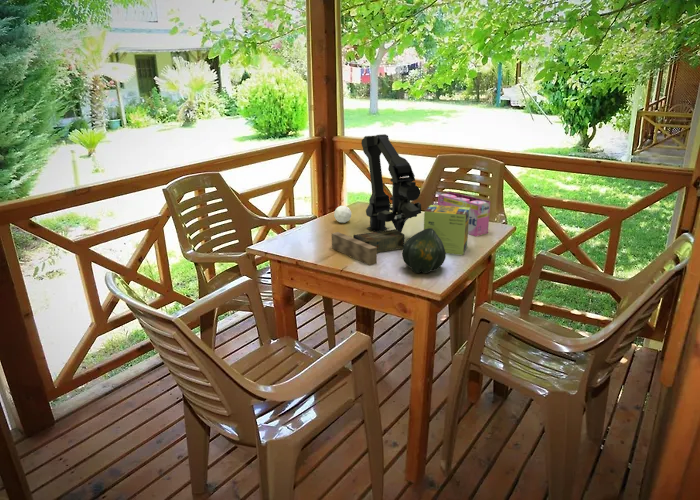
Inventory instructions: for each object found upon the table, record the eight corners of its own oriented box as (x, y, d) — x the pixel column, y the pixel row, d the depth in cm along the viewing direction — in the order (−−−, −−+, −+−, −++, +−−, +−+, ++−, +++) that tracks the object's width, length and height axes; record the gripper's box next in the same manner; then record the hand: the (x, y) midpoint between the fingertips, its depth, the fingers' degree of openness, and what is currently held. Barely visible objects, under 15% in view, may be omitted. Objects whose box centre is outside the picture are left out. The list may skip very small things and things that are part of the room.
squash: (391, 259, 164) (423, 228, 159) (397, 246, 178) (427, 217, 172) (422, 288, 165) (455, 258, 159) (426, 273, 179) (456, 245, 173)
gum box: (433, 223, 220) (435, 193, 216) (446, 220, 225) (447, 190, 220) (476, 236, 202) (478, 204, 197) (488, 233, 206) (491, 201, 202)
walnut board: (331, 248, 192) (331, 233, 189) (338, 246, 193) (337, 231, 191) (370, 265, 174) (370, 249, 172) (376, 263, 176) (376, 247, 174)
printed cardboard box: (405, 248, 190) (405, 232, 188) (360, 256, 183) (360, 240, 181) (395, 242, 197) (395, 227, 194) (351, 250, 190) (351, 233, 187)
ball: (339, 228, 224) (328, 216, 221) (345, 218, 229) (334, 205, 226) (351, 223, 219) (340, 209, 216) (357, 212, 225) (346, 199, 222)
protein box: (463, 255, 182) (466, 214, 177) (422, 251, 187) (423, 211, 182) (467, 246, 191) (470, 207, 186) (428, 242, 197) (429, 204, 191)
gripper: (396, 203, 179) (395, 244, 184) (432, 194, 190) (430, 233, 195) (376, 197, 187) (376, 236, 193) (411, 189, 198) (410, 227, 203)
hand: (399, 233), depth 196 cm, fingers closed
